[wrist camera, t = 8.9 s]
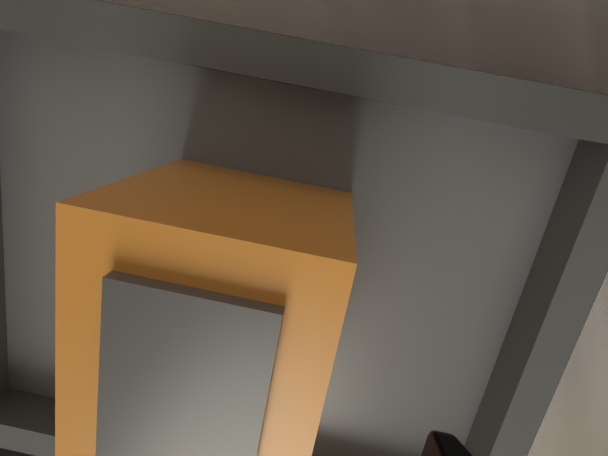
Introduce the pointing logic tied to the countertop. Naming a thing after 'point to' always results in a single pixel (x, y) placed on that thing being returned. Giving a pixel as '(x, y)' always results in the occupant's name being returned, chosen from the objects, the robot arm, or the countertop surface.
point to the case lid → (331, 174)
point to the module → (198, 312)
